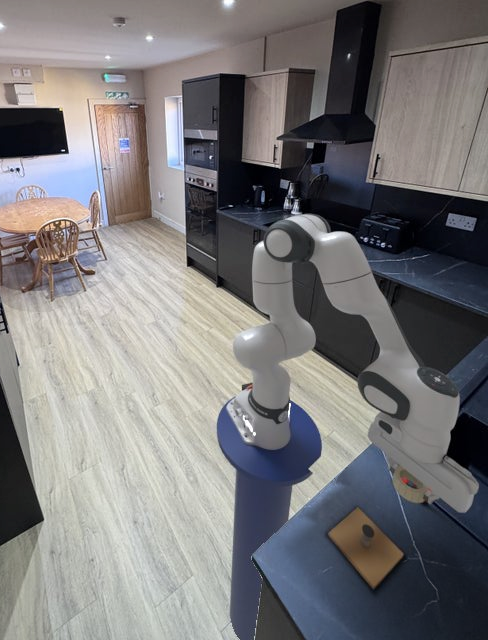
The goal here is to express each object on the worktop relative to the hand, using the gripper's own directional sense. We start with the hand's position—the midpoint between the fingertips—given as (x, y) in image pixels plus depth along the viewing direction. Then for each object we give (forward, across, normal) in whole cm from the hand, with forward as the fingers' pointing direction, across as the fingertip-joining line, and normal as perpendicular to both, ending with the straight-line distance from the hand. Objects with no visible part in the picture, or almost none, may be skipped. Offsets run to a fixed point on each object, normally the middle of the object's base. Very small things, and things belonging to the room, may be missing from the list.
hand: (409, 484), depth 74 cm
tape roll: (+1, 0, 0) cm, 1 cm away
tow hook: (+13, +3, -13) cm, 18 cm away
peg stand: (+12, +1, +12) cm, 17 cm away
